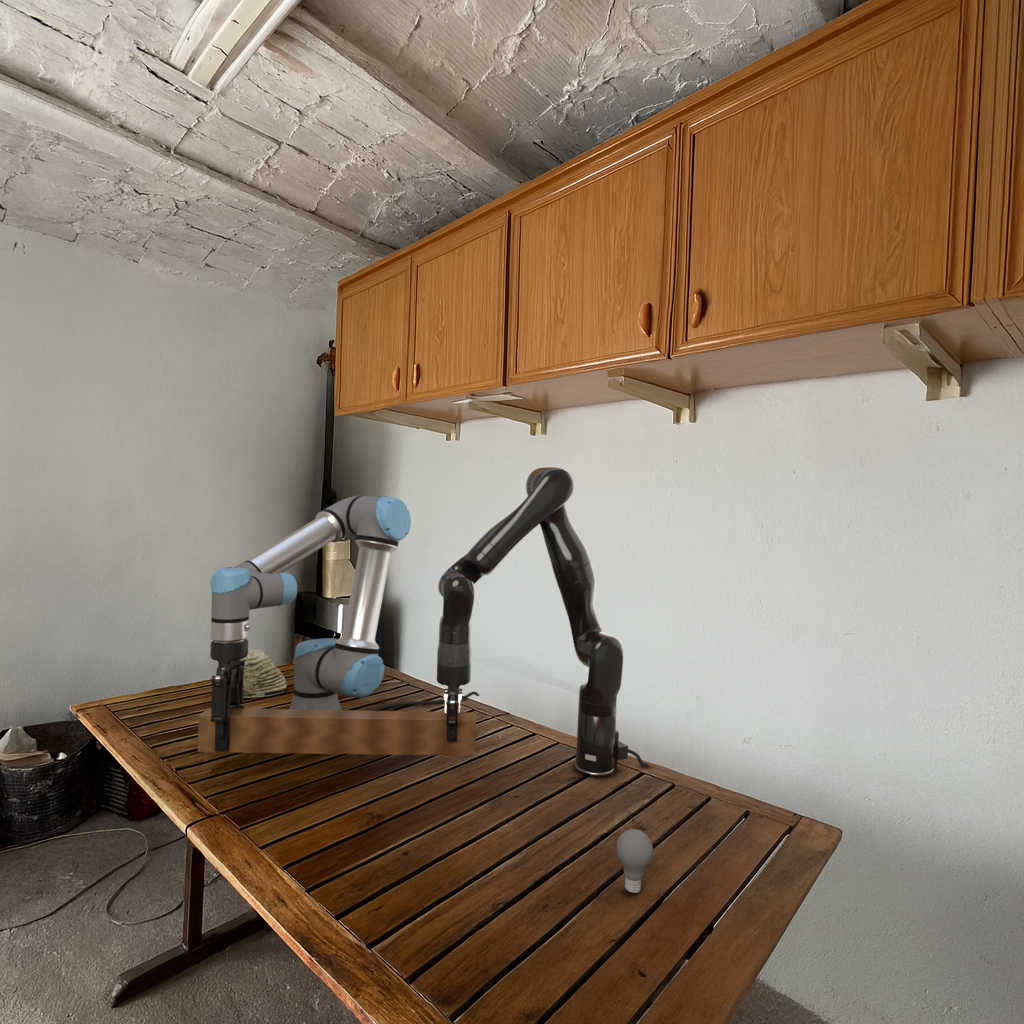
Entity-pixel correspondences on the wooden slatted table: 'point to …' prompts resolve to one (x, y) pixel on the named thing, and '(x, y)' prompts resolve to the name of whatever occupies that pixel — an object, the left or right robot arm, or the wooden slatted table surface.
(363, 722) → the beam
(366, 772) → the wooden slatted table surface
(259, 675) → the fossil
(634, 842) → the light bulb
